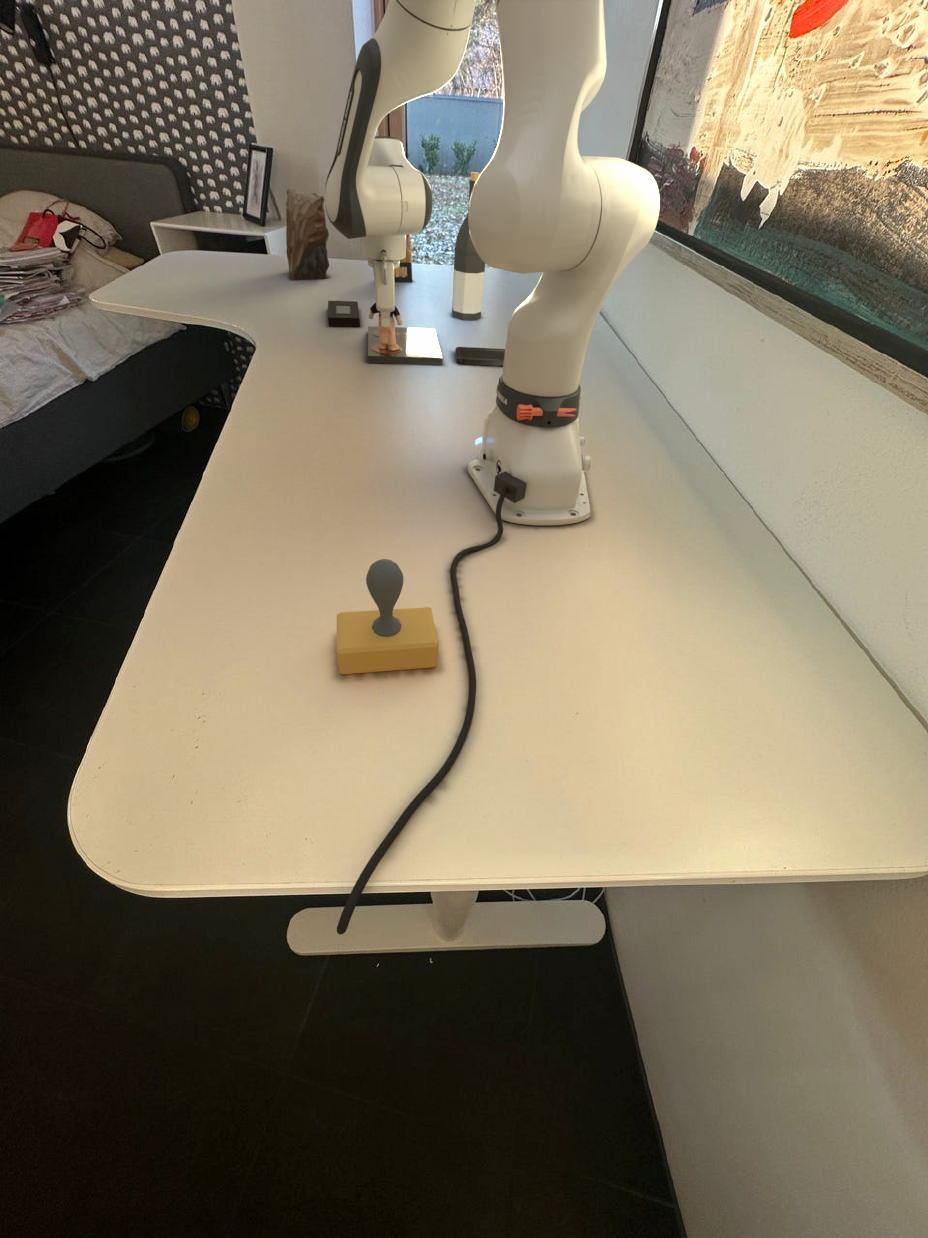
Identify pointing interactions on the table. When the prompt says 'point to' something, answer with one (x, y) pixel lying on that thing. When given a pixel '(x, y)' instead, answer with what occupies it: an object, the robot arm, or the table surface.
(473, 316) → the wine bottle
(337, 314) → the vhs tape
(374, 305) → the grandmother figurine
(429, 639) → the rubber stamp
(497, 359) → the phone
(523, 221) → the robot arm
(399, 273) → the ammunition clip
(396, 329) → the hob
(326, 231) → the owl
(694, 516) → the table surface
